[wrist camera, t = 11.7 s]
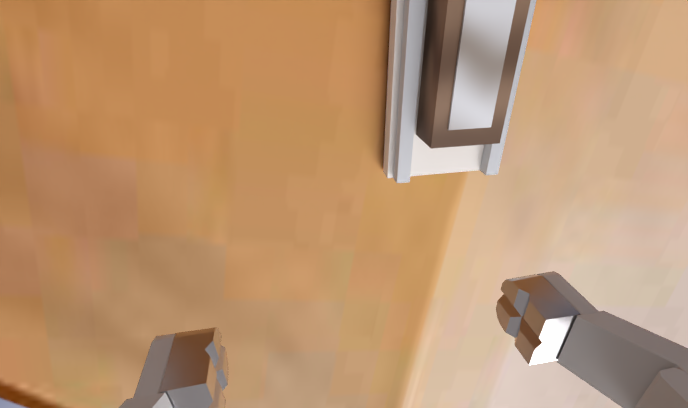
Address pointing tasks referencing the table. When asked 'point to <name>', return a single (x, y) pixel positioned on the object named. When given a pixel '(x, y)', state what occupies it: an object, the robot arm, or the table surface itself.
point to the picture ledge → (403, 100)
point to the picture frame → (468, 70)
